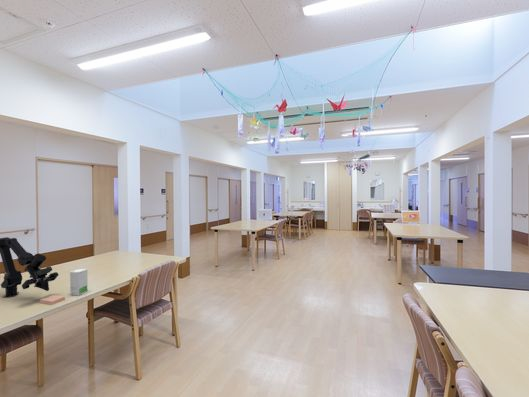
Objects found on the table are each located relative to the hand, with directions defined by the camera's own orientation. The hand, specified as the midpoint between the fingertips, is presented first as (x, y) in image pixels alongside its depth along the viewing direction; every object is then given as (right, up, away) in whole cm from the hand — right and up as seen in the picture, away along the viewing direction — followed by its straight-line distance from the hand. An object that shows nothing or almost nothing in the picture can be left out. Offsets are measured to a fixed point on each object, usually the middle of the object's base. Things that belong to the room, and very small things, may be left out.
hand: (48, 290), depth 169 cm
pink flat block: (-1, -6, 0) cm, 6 cm away
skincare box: (+10, -7, +13) cm, 18 cm away
